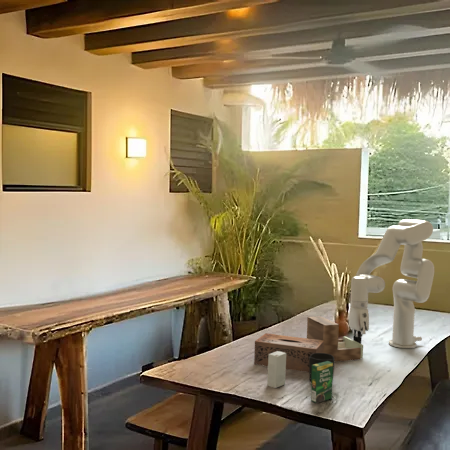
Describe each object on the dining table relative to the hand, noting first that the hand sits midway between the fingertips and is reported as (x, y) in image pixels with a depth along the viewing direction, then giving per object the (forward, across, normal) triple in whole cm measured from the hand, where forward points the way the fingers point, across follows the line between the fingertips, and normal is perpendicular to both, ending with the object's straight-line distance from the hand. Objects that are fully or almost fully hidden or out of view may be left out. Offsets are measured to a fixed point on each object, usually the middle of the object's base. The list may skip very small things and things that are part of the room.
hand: (357, 344), depth 259 cm
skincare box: (+4, -29, +52) cm, 60 cm away
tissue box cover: (+5, -6, +36) cm, 37 cm away
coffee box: (+4, -47, +43) cm, 64 cm away
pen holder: (+4, -30, +34) cm, 46 cm away
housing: (+4, 0, +12) cm, 13 cm away
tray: (+4, 0, +10) cm, 11 cm away
